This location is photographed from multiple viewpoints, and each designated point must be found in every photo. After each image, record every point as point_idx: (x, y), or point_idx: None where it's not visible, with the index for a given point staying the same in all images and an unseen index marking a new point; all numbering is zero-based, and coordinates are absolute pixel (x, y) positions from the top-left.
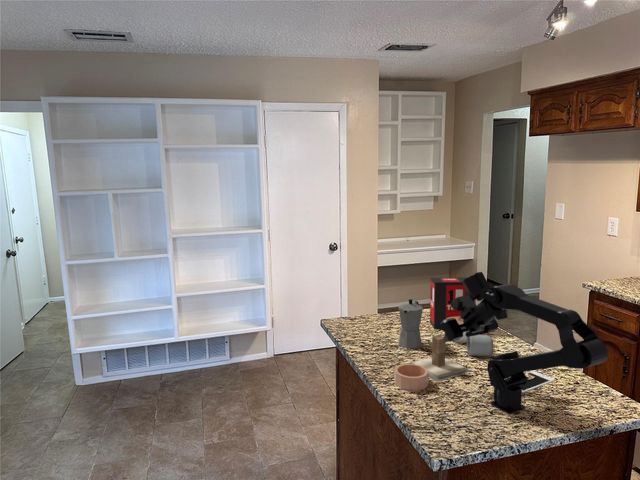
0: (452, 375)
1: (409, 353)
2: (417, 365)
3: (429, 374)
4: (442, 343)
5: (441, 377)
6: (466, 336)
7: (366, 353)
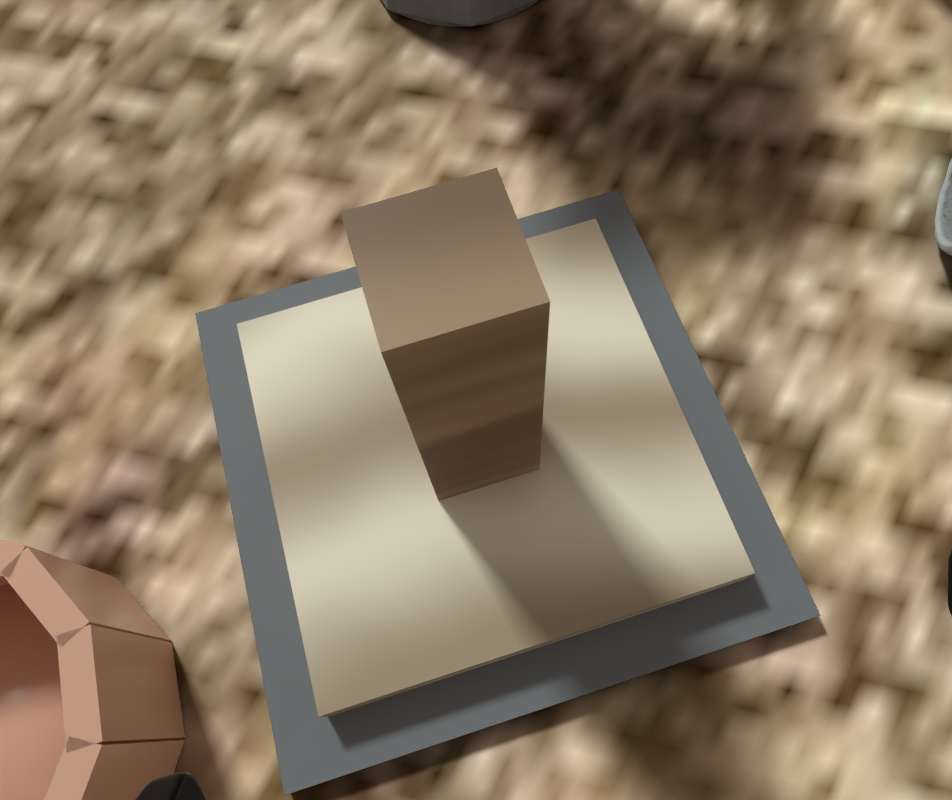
0: (535, 679)
1: (375, 90)
2: (51, 610)
3: None
4: (480, 366)
5: (385, 699)
6: (949, 601)
7: (20, 35)
